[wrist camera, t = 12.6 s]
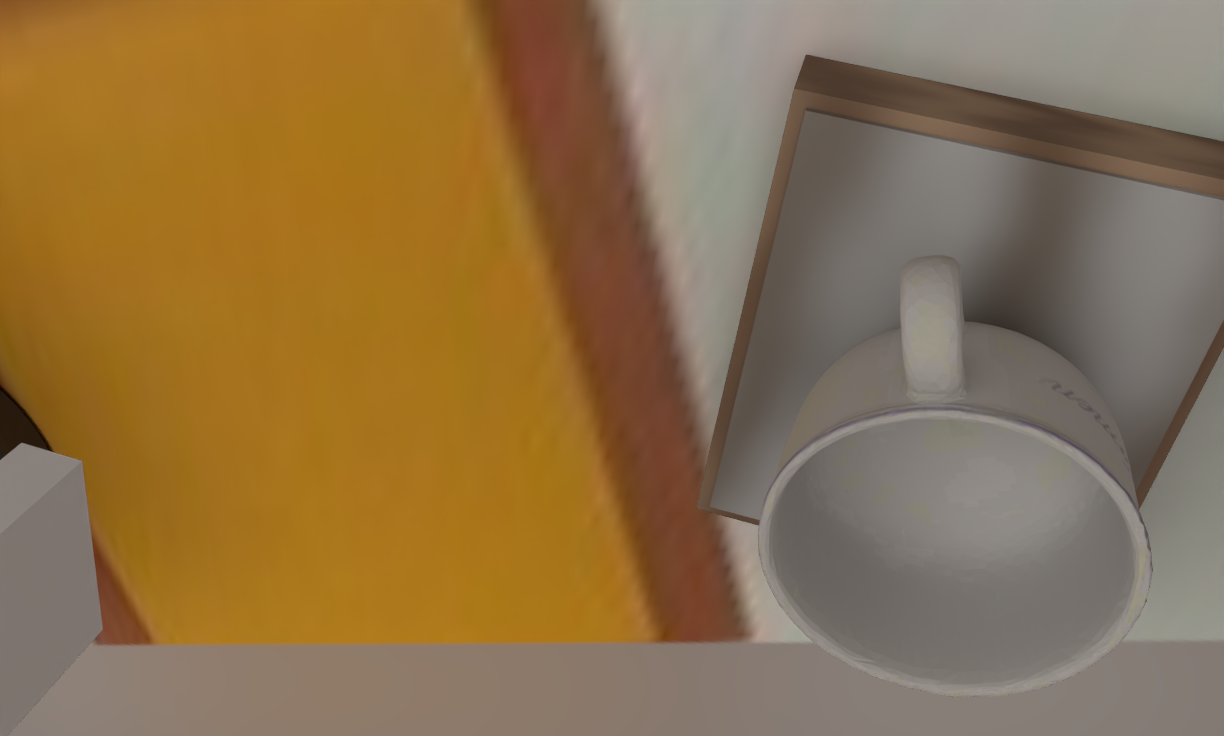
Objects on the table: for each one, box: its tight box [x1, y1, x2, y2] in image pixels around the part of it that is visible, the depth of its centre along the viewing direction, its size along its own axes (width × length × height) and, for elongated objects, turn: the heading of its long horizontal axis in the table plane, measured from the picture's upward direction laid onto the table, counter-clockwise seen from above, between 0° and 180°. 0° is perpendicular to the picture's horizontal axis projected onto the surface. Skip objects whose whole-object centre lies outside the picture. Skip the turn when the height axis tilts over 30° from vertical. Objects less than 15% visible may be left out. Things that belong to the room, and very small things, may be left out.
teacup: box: [758, 255, 1153, 697], centre depth 34 cm, size 14×11×8 cm
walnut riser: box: [696, 55, 1224, 525], centre depth 39 cm, size 15×17×4 cm
